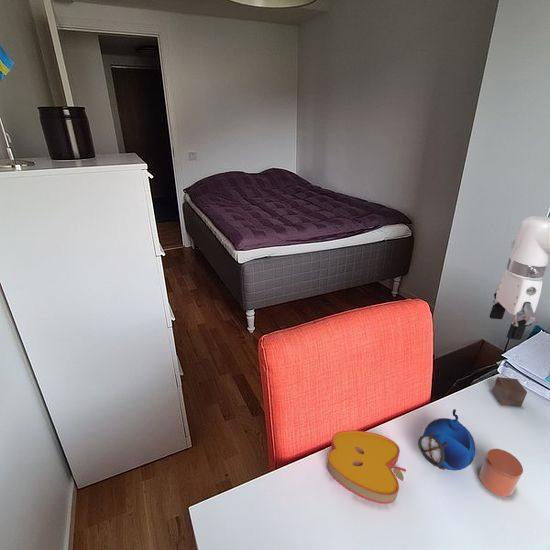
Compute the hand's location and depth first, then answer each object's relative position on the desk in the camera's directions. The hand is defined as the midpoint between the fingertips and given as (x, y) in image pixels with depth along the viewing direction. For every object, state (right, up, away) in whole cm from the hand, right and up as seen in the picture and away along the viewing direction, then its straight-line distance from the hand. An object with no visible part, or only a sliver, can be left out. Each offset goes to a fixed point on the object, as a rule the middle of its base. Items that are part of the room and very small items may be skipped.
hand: (504, 328), depth 90 cm
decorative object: (-49, -24, -18) cm, 57 cm away
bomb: (-24, -26, -16) cm, 39 cm away
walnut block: (+1, -19, +1) cm, 19 cm away
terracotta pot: (-15, -28, -20) cm, 38 cm away
